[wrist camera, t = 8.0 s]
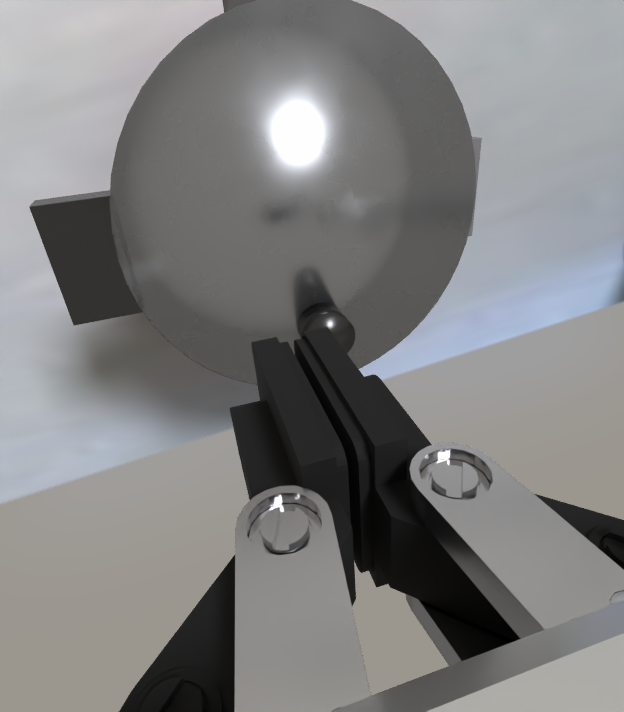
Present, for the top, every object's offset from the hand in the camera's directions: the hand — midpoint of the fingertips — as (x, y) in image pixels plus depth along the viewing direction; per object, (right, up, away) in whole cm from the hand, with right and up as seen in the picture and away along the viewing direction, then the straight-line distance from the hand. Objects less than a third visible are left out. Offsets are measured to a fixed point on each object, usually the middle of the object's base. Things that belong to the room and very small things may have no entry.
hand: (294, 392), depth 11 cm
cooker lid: (-1, +7, +12) cm, 14 cm away
